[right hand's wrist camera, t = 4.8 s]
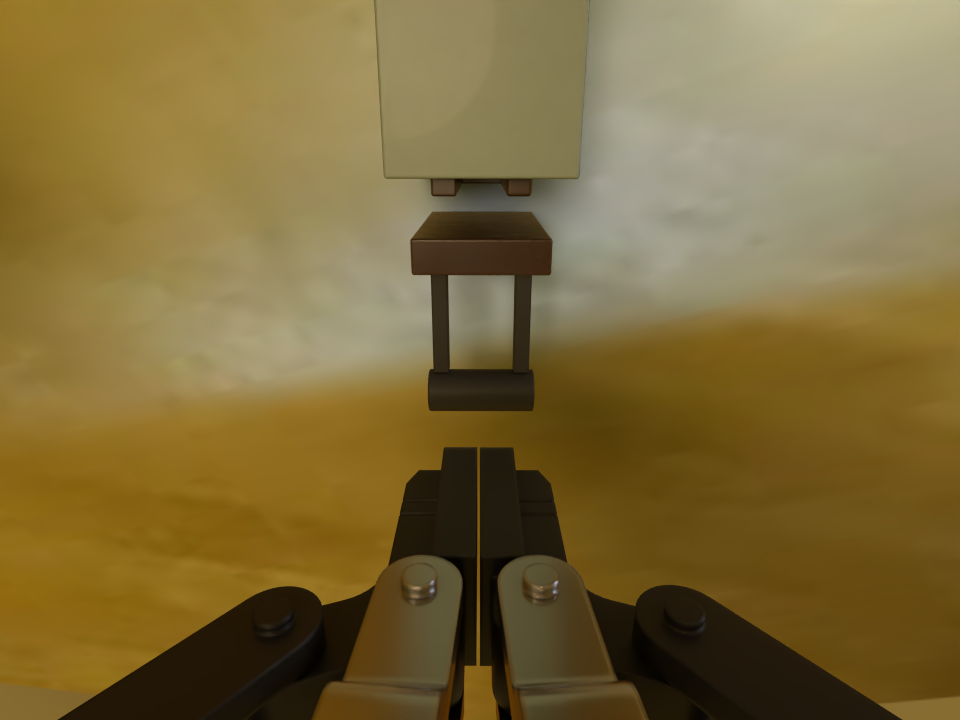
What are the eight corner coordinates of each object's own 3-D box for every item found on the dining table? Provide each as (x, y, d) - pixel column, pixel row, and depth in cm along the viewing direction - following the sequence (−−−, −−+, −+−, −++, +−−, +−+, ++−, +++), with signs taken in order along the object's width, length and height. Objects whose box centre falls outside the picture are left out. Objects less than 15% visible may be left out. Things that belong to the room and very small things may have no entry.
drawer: (526, 356, 29) (544, 435, 21) (435, 356, 29) (417, 435, 21) (549, -339, 20) (593, -659, 12) (416, -339, 20) (372, -658, 12)
